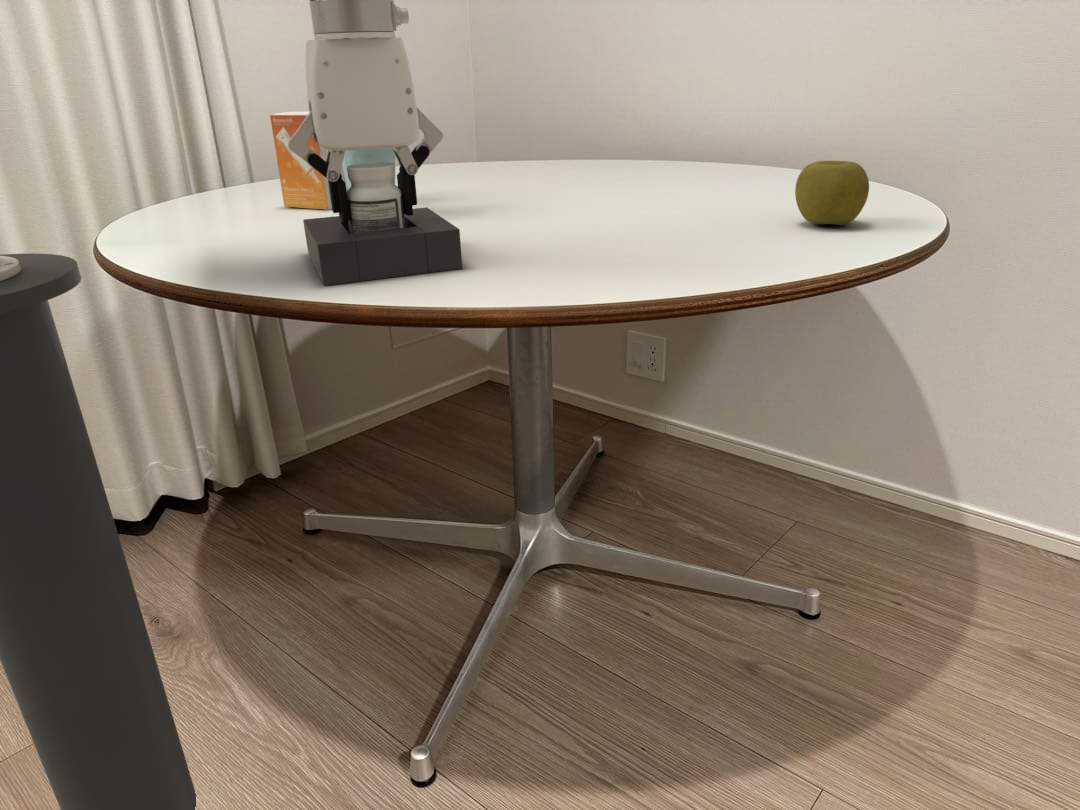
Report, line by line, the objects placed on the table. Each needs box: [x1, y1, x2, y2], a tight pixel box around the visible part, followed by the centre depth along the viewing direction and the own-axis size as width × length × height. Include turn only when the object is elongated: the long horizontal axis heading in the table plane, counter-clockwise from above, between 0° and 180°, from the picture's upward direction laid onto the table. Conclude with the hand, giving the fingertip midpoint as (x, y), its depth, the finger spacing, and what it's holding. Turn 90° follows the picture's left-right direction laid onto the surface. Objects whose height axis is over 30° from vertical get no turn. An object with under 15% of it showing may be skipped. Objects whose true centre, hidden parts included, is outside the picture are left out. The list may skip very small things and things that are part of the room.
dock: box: [302, 206, 463, 287], centre depth 83 cm, size 14×14×4 cm
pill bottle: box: [347, 162, 405, 234], centre depth 81 cm, size 6×6×10 cm
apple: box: [794, 160, 870, 226], centre depth 91 cm, size 8×8×7 cm
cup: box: [342, 148, 396, 189], centre depth 106 cm, size 8×8×10 cm
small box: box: [269, 110, 348, 211], centre depth 114 cm, size 8×6×13 cm
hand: (375, 214), depth 81 cm, fingers closed on pill bottle, 5 cm apart
